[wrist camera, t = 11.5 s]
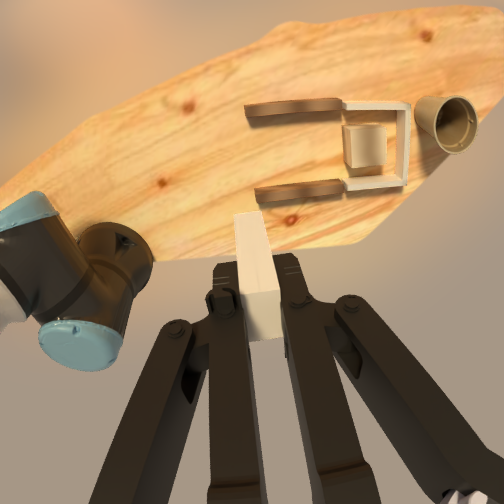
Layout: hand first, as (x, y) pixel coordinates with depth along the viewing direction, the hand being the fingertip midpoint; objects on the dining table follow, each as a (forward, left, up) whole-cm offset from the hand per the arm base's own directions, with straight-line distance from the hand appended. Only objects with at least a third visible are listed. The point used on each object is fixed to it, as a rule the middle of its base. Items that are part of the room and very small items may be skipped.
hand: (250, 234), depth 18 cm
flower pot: (+33, 0, -33) cm, 46 cm away
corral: (+22, -5, -32) cm, 39 cm away
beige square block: (+20, -5, -33) cm, 38 cm away
